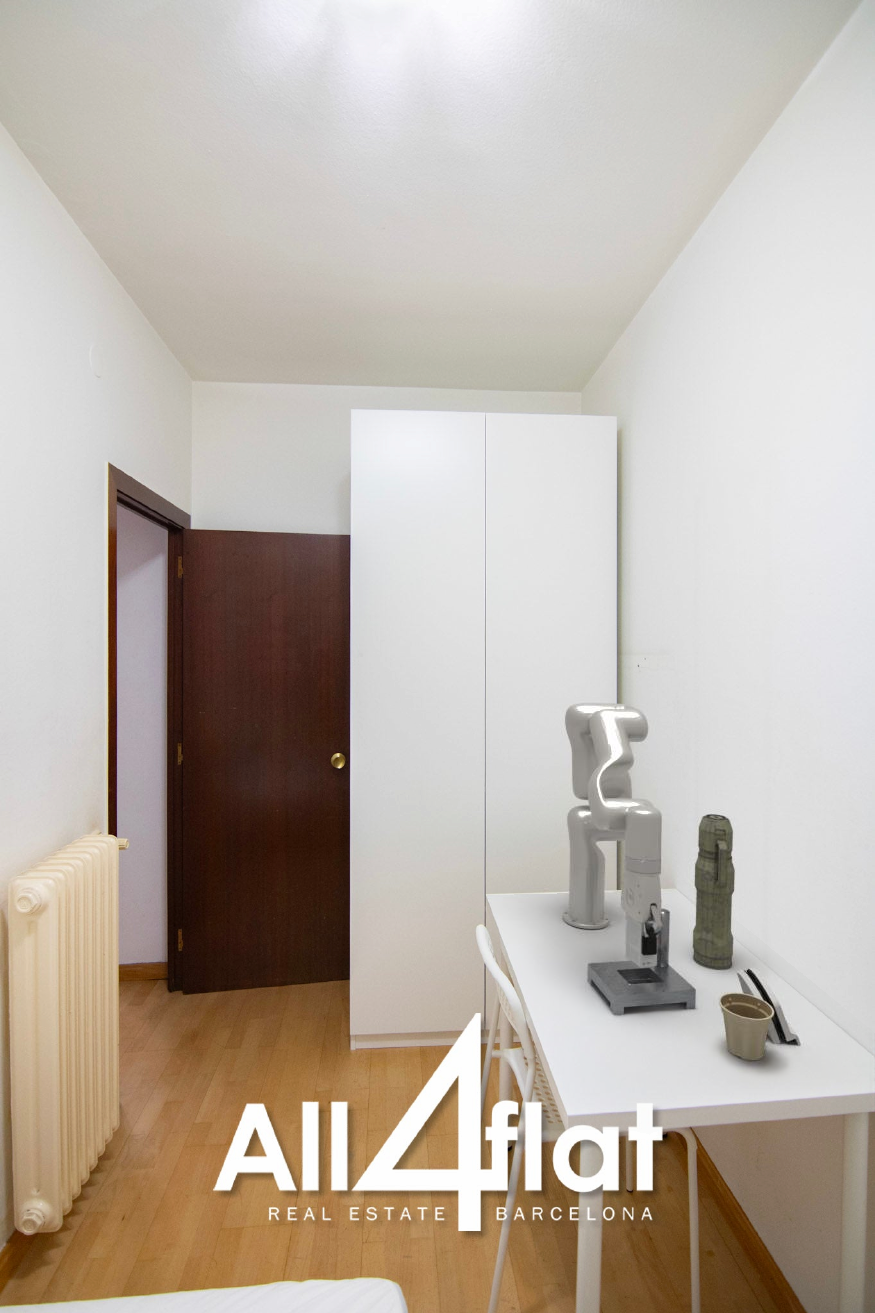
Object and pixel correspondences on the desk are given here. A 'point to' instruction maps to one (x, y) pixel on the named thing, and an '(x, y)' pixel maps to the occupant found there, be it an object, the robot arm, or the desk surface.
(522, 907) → the desk surface
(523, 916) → the desk surface
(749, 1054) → the flower pot
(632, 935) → the skincare box
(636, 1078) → the desk surface
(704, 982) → the desk surface
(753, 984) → the white curved piece
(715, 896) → the thermos
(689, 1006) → the gray square stand
